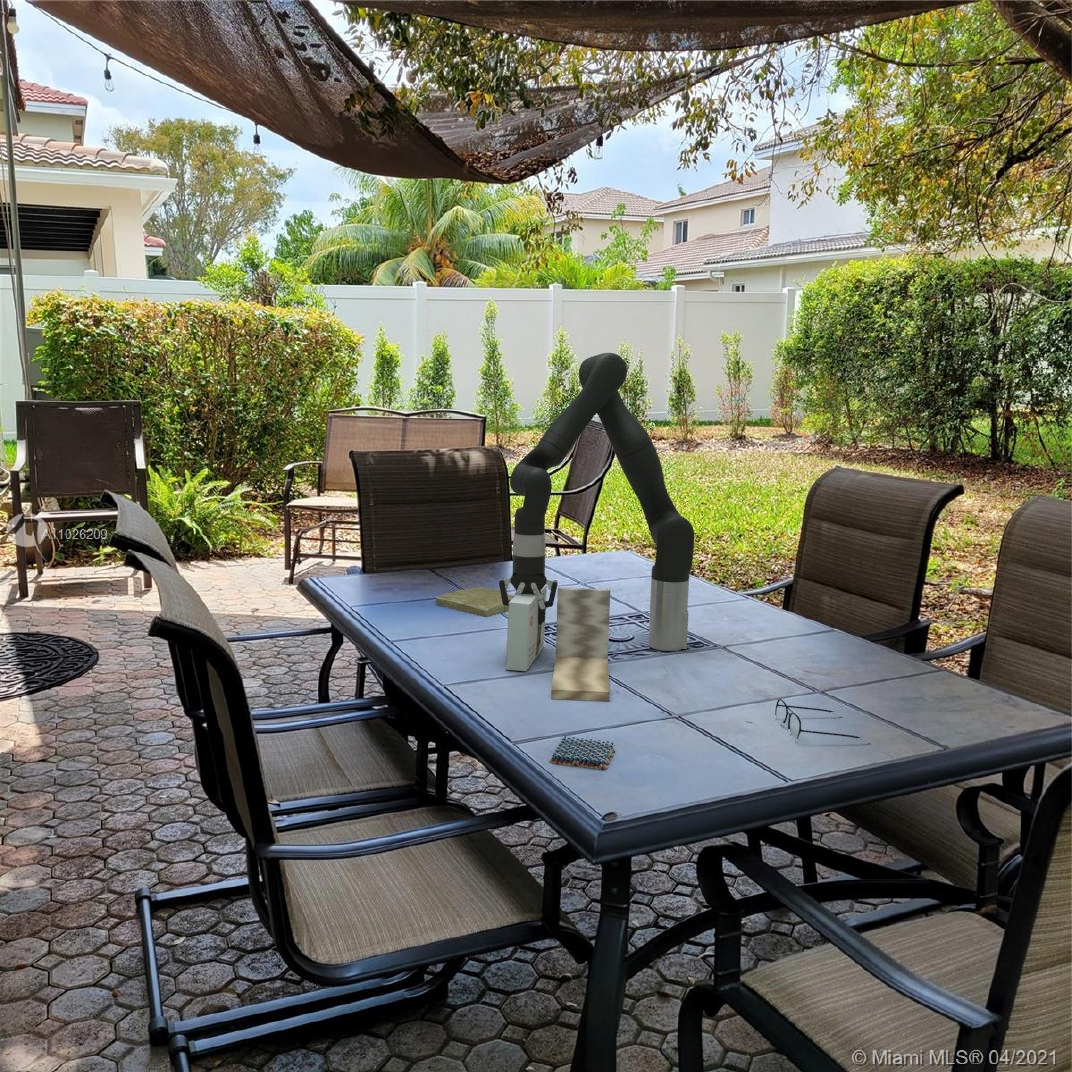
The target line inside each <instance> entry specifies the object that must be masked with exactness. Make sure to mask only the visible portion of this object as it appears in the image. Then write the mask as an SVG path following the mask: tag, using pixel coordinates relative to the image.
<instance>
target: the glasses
mask: <svg viewBox="0 0 1072 1072" xmlns="http://www.w3.org/2000/svg"><path fill="white" fill-rule="evenodd" d="M780 701H781V702H782V704H779V702H780ZM779 707H783V708H784V707H785V711H786V712H785V713H786V714H785V718H784V720H783V721H782V723H784V724H785V723H787V729H790V730H791V718H792V715H794V716H795V717H796V719H797V720H798V734H797V737H796V739H798V740H799V736H800V734H801V733H809V734H819V735H830V736H838V737H839V736H841V737H848V738H853V739H858V738H860V737H861V736H857V735H851V734H850V735H849V734H843V733H842V734H841V733H833V732H824V731H814V730H805V729H804V730H803V729H802V721H801V718H800V717H799V716H798V715H797V713H795V712H793V710H791V709H790V708H794V709H800V710H801V709H803V710H812V711H820V712H827V713H831V712H835V711H832V710H828V709H821V708H814V707H805V706H798V705H797V706H796V705H795V706H794V705H787V703H786V702H785V701H784V700H783V699H781V698H779V699H778V700H777V702H776V705H775V712H774V713H775V715H776V716H777V709H778V708H779ZM789 711H790V712H789ZM775 715H774V716H775Z"/></svg>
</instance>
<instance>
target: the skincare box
mask: <svg viewBox="0 0 1072 1072" xmlns="http://www.w3.org/2000/svg"><path fill="white" fill-rule="evenodd" d="M547 589H548V585H547V584H546V585H545V586H544V587H543V588H542V590H541V593H542V595H543V598H544V601H545V602H546V601H547ZM537 596H538V595H535V594H517V595H516V596H515V597H514V598H513V599H512V600H511V601H510V602H509V610H508V613H507V614H508V616H507V634H506V637H507V639H506V655H505V670H506V671H507V670H508V671H521V672H526V671H528V669H529V668H530V667H531V665H532V664H533V662H534V661H535V660H536V658H537V657H538V655H540V653H541V651H542V650H543V648H544V647H545V645H544V644H545V626H546V621H545V622H542V625H539V609H540V606H539V603H538V598H537Z"/></svg>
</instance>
